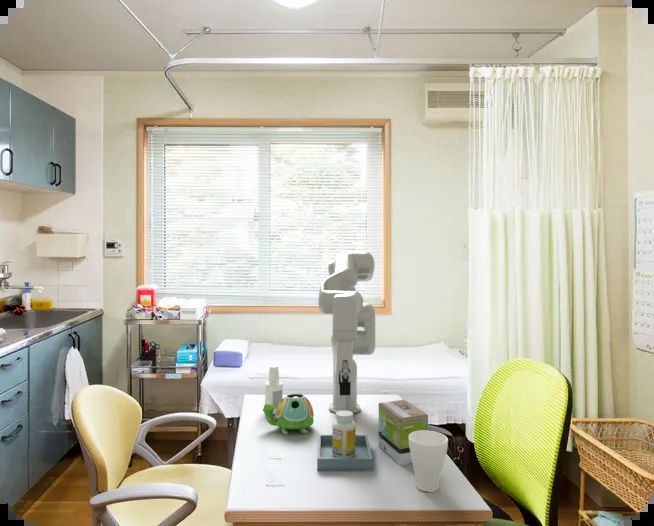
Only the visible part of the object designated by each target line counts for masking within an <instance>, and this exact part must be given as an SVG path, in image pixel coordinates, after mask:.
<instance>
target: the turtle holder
mask: <svg viewBox="0 0 654 526" xmlns="http://www.w3.org/2000/svg"><path fill="white" fill-rule="evenodd" d="M273 410H274V407H273V405H272V404H271V403H268V404H265V403H264V405H263V408H262V411H263V413H264V414H265V418H266V422H267V423H268V424H269V425H271V426H276V427H279V428H281V433H282V434H283V435H289V431H288V430H299V433H301V434H308V433H309V431H308V429H307V428H308V427H311V426H312V425H314V420H315V419H314V416H315V414H314V408H313V405H312V403H311V401H310V400H309V399H308V398H307V397H306V394H304V393H288V394H285V396H284V397H282V401H281V402H280V403H279V405H278V408H277V412H276V414H275V416H274V414H273ZM287 429H288V430H287Z"/></svg>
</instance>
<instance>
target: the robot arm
mask: <svg viewBox="0 0 654 526" xmlns="http://www.w3.org/2000/svg"><path fill="white" fill-rule="evenodd" d="M327 270H328V274H329V276H328V277H326V278H325V279H324V280H323V281H322V283H321V284H320V286H319V292H318V300H317V302H318V309H319V311H320V312H321V313H322V314H324V315H332V335H331V338H330V343H331V352H332V367H333V368H332V403H330V404H329V405H328V410H329V411H330V412H332V413H334V414H336V412H338V411H342V410H346V411H351V412H352V413H353V415H354V414H357V413H359V412H360V411H361V407H362V406H361V405H360V404H359V403H357V402H358V401H357V400H358V395H357V394H358V393H357V392H358V366H357V363H356V361H355V360H354V355H355V356H360V355H361V356H370V355H372V354H374V352H375V350H376V309H375V308H374V306H373V304H371V303H367V302H364V297H363V296H362V294H361V293H360V292H358V291H357V289H356V286H357V283H358V282H369V281H371V280H372V278H373V277H374V271H375V260H374V257H373V255H372V253H370V252H367V251H342V252H339V253H338V254H337V255H336V256H335V259H333V260H331V261H330V262H328V269H327ZM358 328H362V329H364V330H358Z"/></svg>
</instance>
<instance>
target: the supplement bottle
mask: <svg viewBox="0 0 654 526" xmlns="http://www.w3.org/2000/svg"><path fill="white" fill-rule="evenodd" d="M356 428H357V425H356V423H355V422H354V414H353V413H352V412H351V411H346V410H342V411H338V412H336V413H335V420H334V422H333V423H332V434H331V435H332V454H333V455H334V456H335V457H337V458H351V457H353V456H354V455H355V438H356V435H357V430H356Z"/></svg>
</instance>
